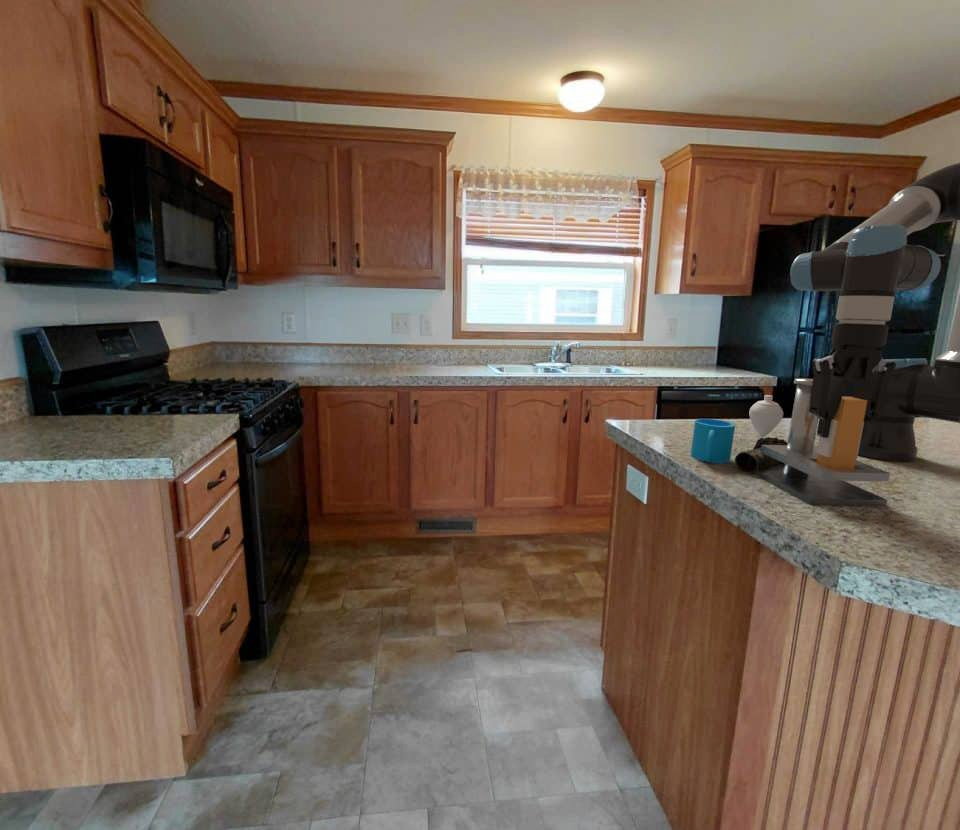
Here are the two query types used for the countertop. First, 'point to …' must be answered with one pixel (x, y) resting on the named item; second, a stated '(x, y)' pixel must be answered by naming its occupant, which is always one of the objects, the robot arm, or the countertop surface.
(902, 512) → the countertop surface
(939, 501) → the countertop surface
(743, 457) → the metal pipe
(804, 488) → the two-tier gray stand
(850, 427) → the orange upright block
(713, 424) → the mug
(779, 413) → the spinning top
